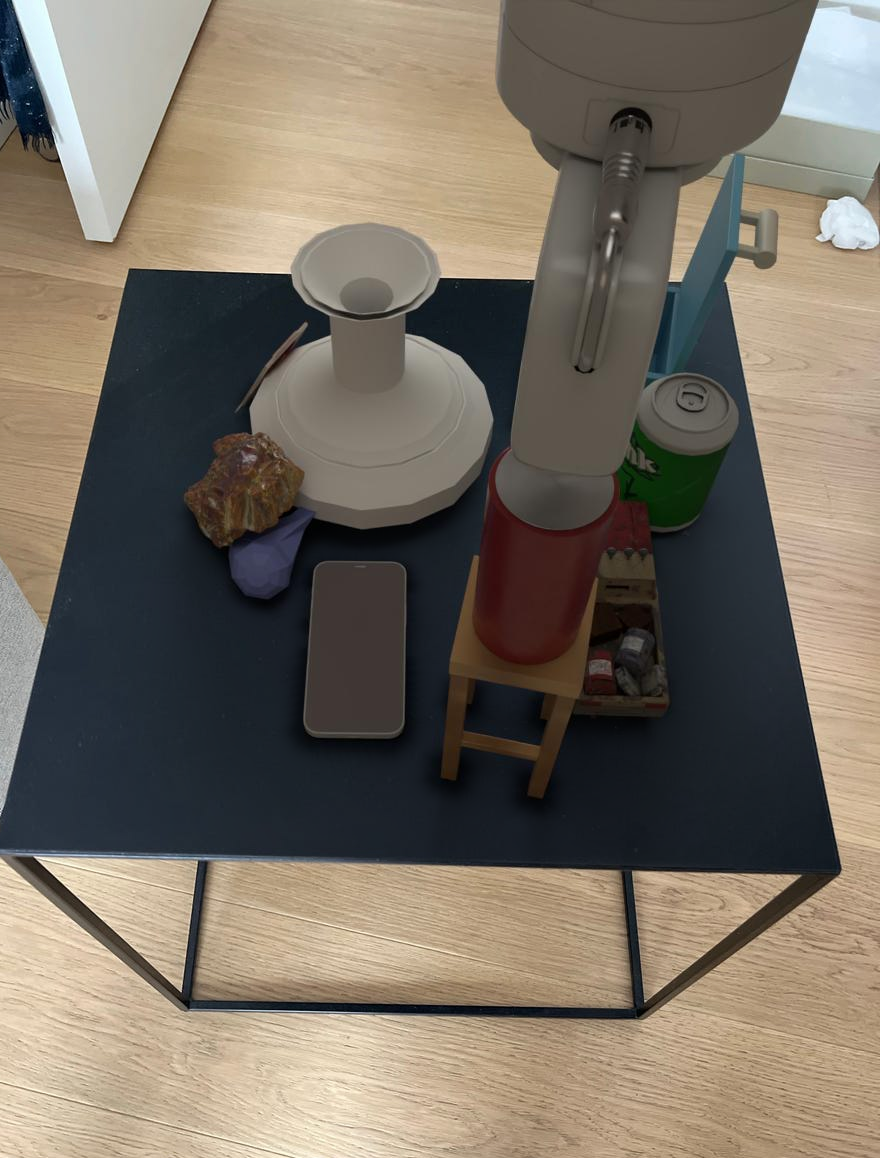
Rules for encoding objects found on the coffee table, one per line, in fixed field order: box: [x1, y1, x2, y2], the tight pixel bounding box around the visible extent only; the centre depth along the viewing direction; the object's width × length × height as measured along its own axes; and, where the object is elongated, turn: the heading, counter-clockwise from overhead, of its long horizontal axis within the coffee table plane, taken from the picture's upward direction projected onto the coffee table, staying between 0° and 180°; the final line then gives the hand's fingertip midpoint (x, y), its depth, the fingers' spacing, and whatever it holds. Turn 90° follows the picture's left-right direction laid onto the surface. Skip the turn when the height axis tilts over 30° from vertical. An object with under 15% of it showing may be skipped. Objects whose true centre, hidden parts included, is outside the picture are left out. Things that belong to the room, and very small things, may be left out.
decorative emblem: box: [234, 321, 309, 414], centre depth 86 cm, size 10×1×10 cm
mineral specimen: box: [183, 431, 305, 549], centre depth 77 cm, size 12×8×7 cm, turn 39°
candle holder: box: [249, 222, 495, 530], centre depth 77 cm, size 20×20×19 cm
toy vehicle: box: [571, 501, 671, 719], centre depth 73 cm, size 7×18×8 cm, turn 178°
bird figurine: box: [228, 507, 316, 600], centre depth 77 cm, size 8×6×6 cm
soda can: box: [616, 372, 740, 533], centre depth 78 cm, size 8×8×12 cm
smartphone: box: [303, 560, 407, 740], centre depth 75 cm, size 7×1×15 cm
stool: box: [440, 555, 598, 799], centre depth 64 cm, size 8×8×17 cm
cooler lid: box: [670, 152, 779, 375], centre depth 76 cm, size 12×11×4 cm
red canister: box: [472, 445, 620, 665], centre depth 52 cm, size 6×6×12 cm
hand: (577, 375), depth 41 cm, fingers open, 8 cm apart
